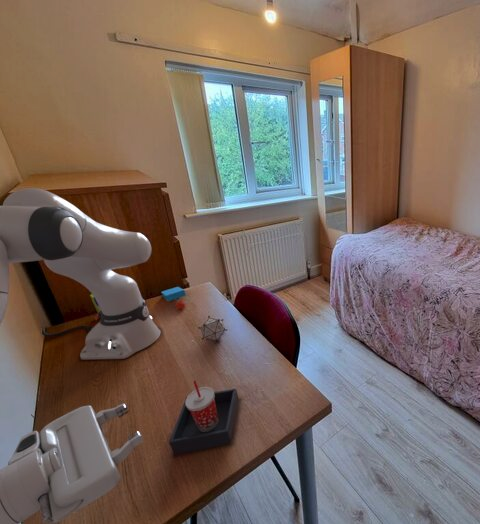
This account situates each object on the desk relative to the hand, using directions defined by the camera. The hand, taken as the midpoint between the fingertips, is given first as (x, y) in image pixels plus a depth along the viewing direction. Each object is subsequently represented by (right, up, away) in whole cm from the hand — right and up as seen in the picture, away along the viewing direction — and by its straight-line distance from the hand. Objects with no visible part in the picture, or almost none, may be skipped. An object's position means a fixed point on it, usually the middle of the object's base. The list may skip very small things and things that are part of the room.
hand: (133, 420), depth 57 cm
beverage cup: (+8, -8, +14) cm, 18 cm away
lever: (-32, +14, +67) cm, 76 cm away
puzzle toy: (-51, +10, +59) cm, 79 cm away
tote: (+8, -9, +14) cm, 18 cm away
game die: (-5, +5, +44) cm, 45 cm away
